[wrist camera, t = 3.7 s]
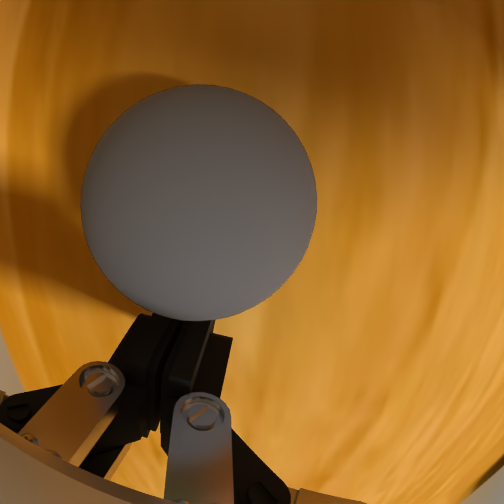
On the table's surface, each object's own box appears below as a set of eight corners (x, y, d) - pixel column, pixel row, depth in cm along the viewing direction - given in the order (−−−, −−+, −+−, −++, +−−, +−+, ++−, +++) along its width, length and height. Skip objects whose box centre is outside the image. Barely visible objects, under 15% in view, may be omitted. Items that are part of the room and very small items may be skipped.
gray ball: (298, 88, 8) (327, 43, 3) (308, 255, 11) (332, 371, 6) (129, 112, 9) (9, 117, 4) (154, 264, 11) (80, 364, 6)
